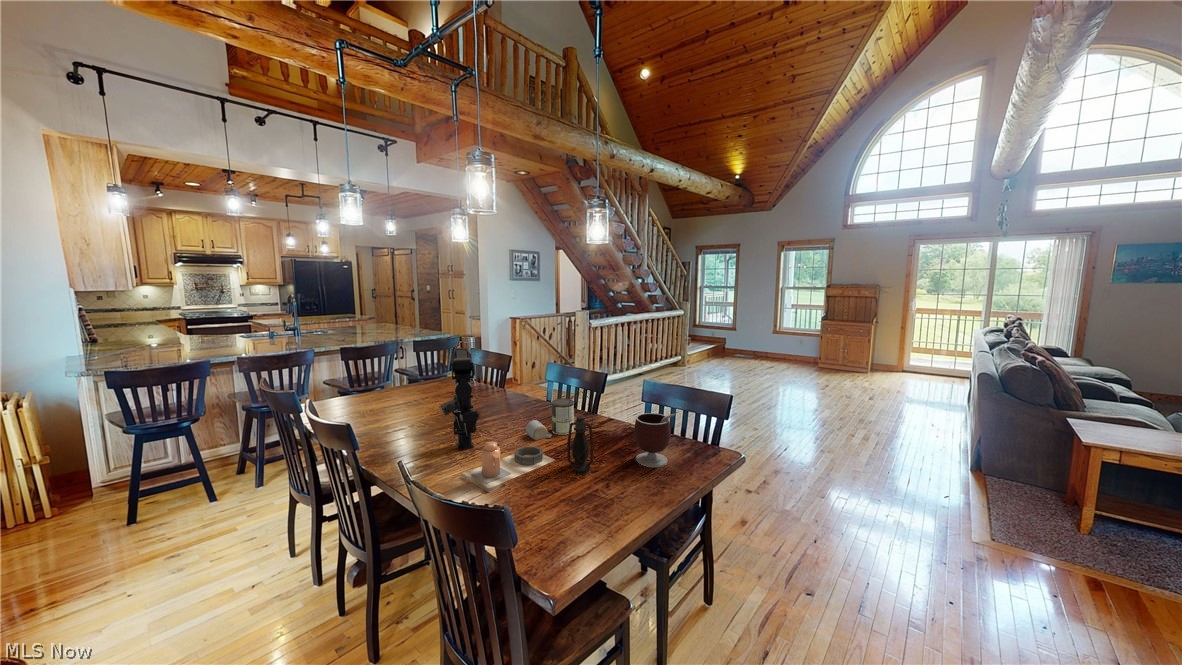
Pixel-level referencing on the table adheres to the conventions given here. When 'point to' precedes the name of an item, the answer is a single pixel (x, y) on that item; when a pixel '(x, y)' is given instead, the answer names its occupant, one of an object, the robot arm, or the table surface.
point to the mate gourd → (652, 438)
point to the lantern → (580, 444)
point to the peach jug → (490, 460)
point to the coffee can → (562, 416)
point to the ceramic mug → (537, 430)
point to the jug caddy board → (510, 468)
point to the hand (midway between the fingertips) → (464, 432)
